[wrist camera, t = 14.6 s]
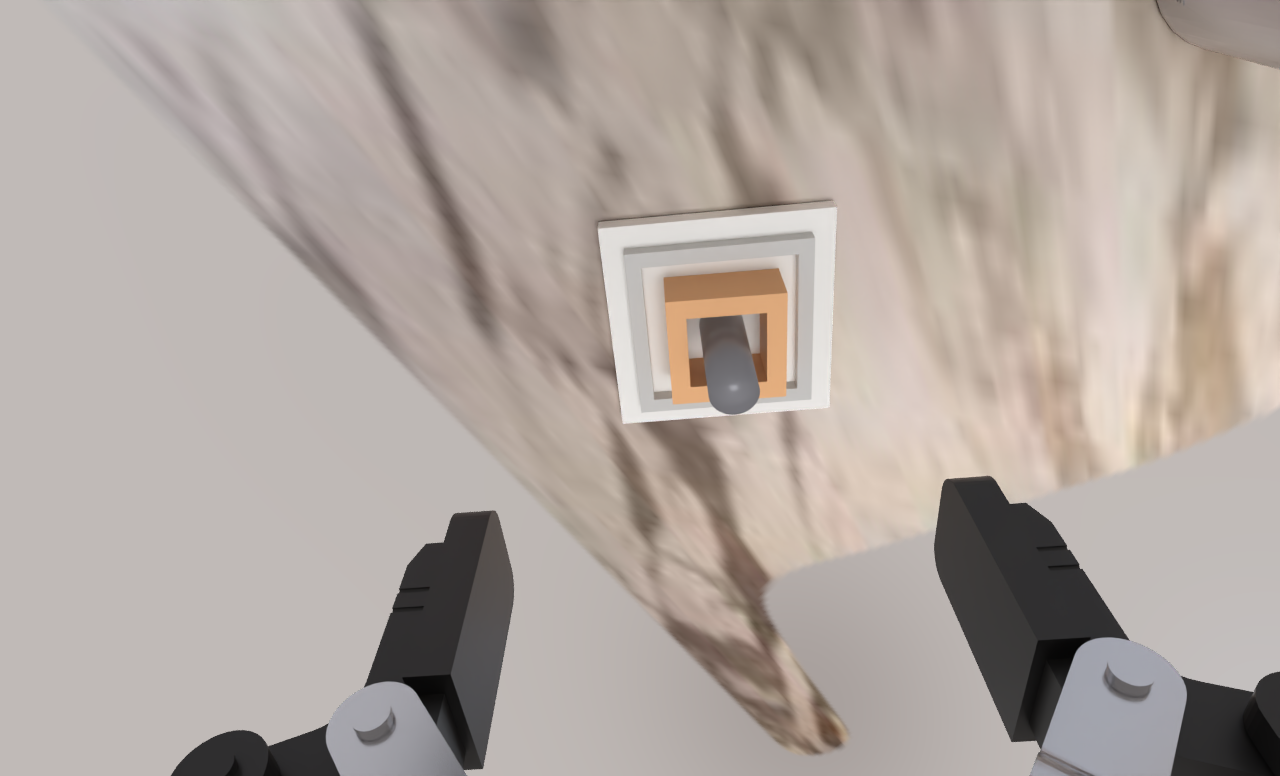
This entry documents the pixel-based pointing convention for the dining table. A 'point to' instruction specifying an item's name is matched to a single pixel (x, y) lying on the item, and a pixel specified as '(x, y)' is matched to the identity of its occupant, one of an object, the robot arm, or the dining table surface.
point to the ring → (727, 299)
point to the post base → (657, 298)
